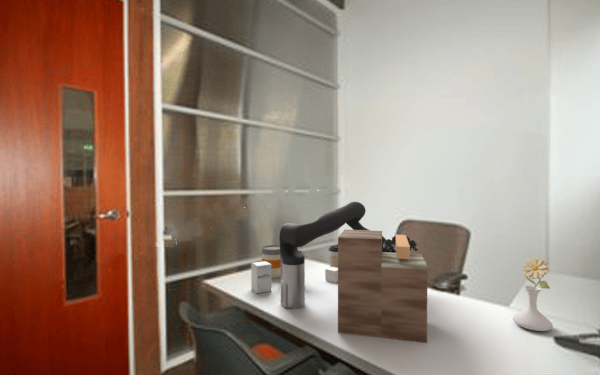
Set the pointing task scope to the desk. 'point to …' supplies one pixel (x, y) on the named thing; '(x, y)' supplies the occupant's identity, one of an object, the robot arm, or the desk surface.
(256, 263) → the supplement box
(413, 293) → the stepped stand
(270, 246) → the reusable coffee cup
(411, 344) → the desk surface
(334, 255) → the coffee cup
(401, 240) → the terracotta bar
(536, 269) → the flower in vase
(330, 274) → the white cube
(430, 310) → the desk surface
